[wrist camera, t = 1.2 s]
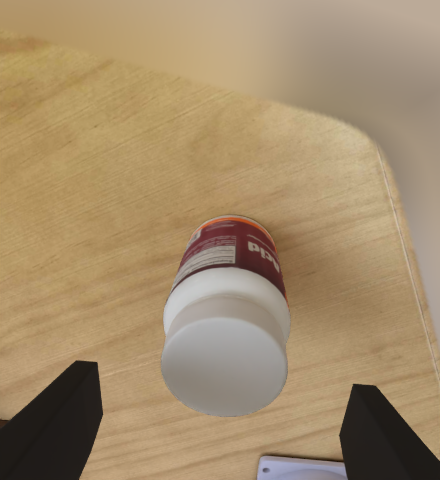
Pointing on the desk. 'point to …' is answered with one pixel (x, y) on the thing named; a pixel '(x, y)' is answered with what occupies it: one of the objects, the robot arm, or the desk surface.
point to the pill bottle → (227, 320)
